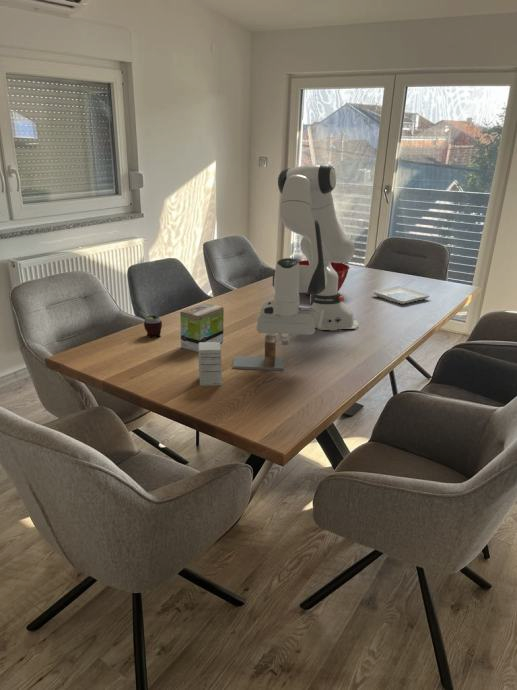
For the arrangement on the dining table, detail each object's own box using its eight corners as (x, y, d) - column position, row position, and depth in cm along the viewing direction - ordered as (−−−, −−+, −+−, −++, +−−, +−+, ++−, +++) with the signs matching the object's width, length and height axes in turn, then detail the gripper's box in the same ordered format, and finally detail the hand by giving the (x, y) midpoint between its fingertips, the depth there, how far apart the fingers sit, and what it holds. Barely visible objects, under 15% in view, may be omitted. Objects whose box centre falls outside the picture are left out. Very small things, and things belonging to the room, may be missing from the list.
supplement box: (199, 376, 179) (198, 341, 174) (221, 376, 180) (221, 341, 175) (199, 386, 172) (197, 350, 168) (222, 385, 173) (221, 349, 168)
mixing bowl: (356, 292, 281) (358, 264, 276) (333, 305, 259) (335, 274, 253) (308, 284, 295) (309, 257, 290) (283, 296, 273) (283, 266, 267)
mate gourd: (141, 337, 214) (139, 301, 208) (152, 331, 220) (150, 296, 215) (157, 340, 211) (155, 304, 206) (167, 334, 218) (166, 298, 212)
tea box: (201, 353, 199) (200, 315, 193) (180, 348, 204) (178, 311, 198) (224, 341, 211) (224, 306, 205) (204, 336, 216) (203, 301, 210)
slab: (275, 358, 193) (276, 332, 189) (274, 366, 186) (275, 339, 182) (265, 357, 193) (266, 331, 190) (264, 366, 186) (264, 339, 182)
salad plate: (430, 301, 270) (431, 294, 268) (402, 307, 258) (403, 300, 257) (398, 291, 286) (399, 285, 285) (370, 297, 274) (371, 290, 273)
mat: (284, 359, 194) (284, 357, 194) (283, 370, 185) (283, 368, 184) (235, 357, 195) (235, 355, 195) (232, 368, 186) (232, 366, 185)
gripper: (316, 305, 184) (314, 342, 189) (257, 303, 185) (257, 340, 190) (317, 310, 178) (315, 349, 183) (256, 308, 179) (255, 347, 184)
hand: (285, 344), depth 187 cm, fingers closed
